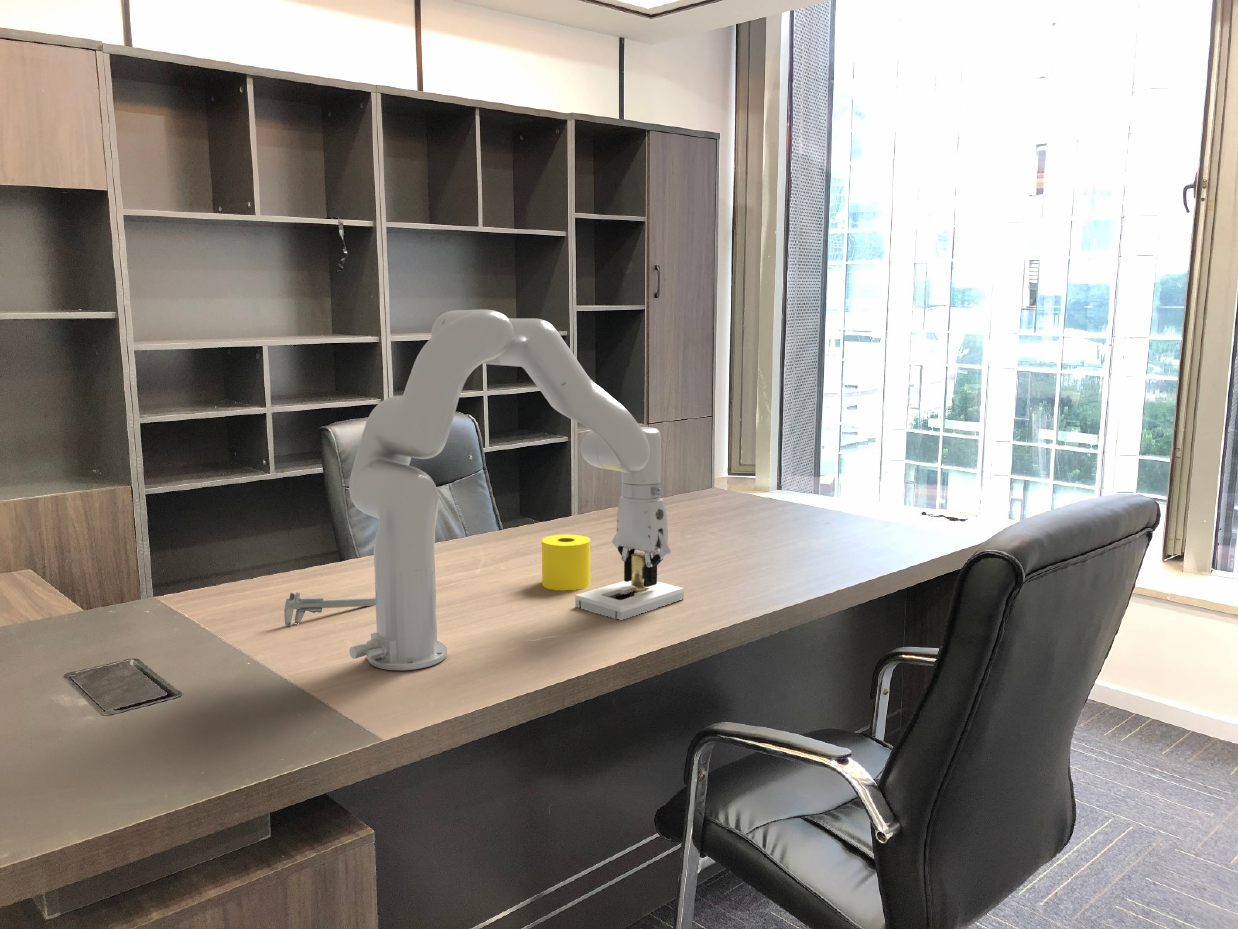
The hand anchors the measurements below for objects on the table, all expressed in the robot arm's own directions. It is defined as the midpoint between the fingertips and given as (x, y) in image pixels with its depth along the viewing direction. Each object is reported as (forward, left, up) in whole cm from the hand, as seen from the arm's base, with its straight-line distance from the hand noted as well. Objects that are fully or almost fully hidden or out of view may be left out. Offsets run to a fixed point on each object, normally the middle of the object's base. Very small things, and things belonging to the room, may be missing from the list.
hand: (640, 582), depth 186 cm
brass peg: (0, 0, -4) cm, 4 cm away
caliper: (-46, +35, -4) cm, 58 cm away
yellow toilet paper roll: (-2, +19, -4) cm, 20 cm away
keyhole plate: (-3, 0, -4) cm, 5 cm away
